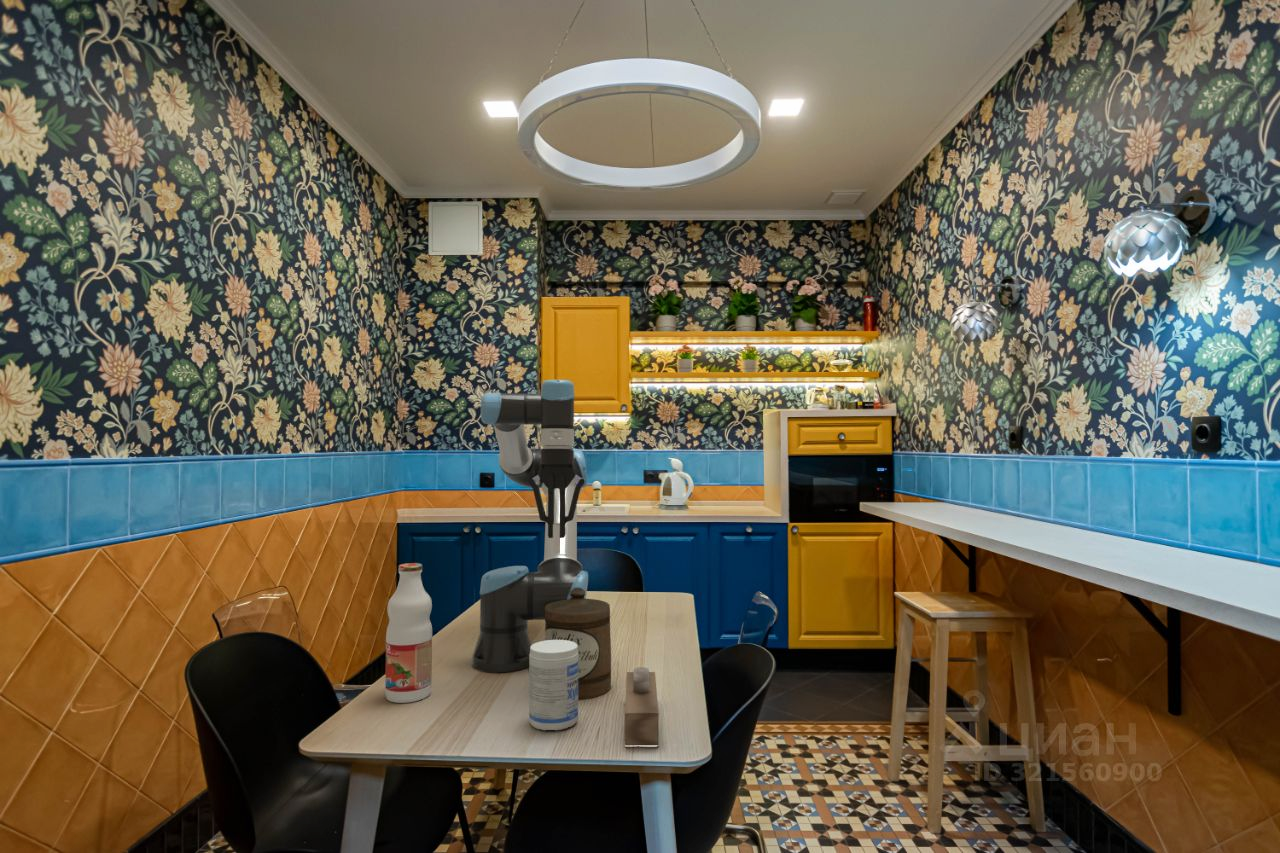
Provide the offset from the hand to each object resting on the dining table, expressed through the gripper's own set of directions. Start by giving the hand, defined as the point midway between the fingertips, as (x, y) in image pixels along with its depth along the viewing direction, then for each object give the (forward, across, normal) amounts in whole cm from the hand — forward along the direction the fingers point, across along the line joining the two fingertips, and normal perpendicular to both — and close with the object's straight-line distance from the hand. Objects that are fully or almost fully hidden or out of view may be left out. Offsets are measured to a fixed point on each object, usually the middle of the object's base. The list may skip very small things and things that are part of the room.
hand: (556, 552), depth 148 cm
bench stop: (+30, +18, -20) cm, 40 cm away
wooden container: (+30, +5, 0) cm, 31 cm away
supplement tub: (+30, +1, -19) cm, 36 cm away
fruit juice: (+30, -31, -4) cm, 43 cm away
